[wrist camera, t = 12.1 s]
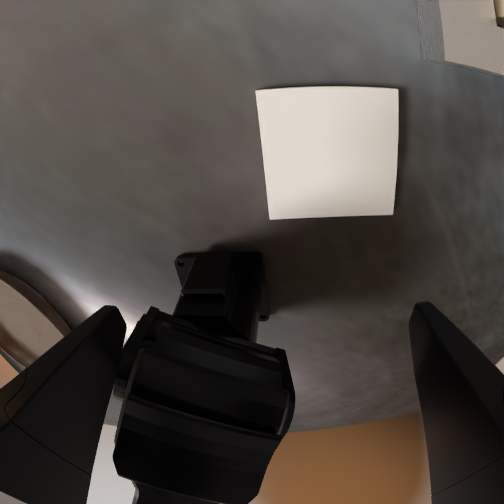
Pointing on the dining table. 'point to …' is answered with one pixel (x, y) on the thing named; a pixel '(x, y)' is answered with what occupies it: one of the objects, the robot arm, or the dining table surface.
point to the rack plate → (461, 34)
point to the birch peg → (499, 11)
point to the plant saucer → (27, 321)
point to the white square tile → (329, 150)
